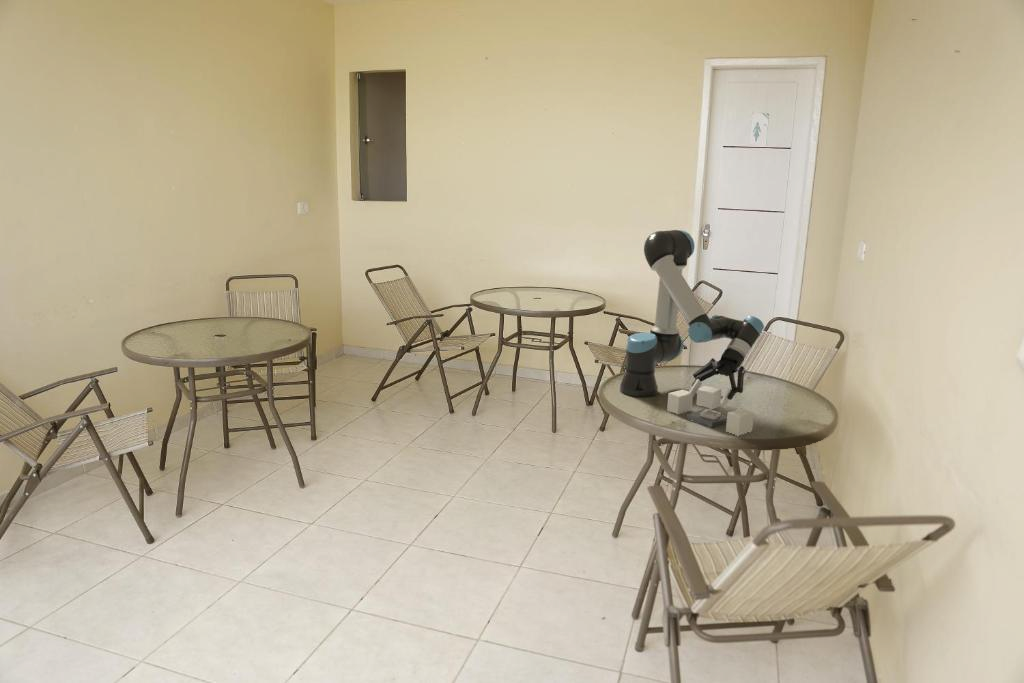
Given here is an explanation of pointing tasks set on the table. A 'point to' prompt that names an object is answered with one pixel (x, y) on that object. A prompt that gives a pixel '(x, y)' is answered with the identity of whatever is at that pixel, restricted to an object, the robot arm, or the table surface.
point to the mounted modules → (736, 420)
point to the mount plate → (707, 419)
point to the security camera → (709, 401)
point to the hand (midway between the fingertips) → (705, 400)
